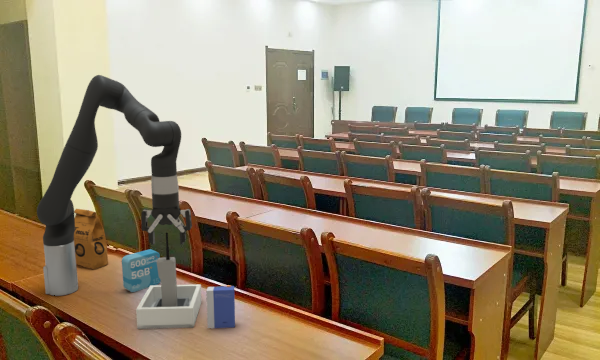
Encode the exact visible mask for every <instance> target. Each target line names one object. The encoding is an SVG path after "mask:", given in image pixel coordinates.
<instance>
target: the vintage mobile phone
mask: <svg viewBox="0 0 600 360" xmlns="http://www.w3.org/2000/svg"><path fill="white" fill-rule="evenodd" d="M165 246H166V247H165V251H166V253H165V254H166V257H165V256H163V257H160V258H158V260H157V268H158V275H159V278H160V280H161V281H160V285H161V291H162V305H161V307H178V303H177V285H178V284H177V263H176V257H175V256H170V247H169V233H168V232H165Z"/></svg>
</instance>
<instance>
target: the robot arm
mask: <svg viewBox="0 0 600 360" xmlns="http://www.w3.org/2000/svg"><path fill="white" fill-rule="evenodd" d="M100 107H102V108H106V109H109V110H114V111H116V112H120V113H122V114H124V115H123V116H124V119H125V120H126V122H127V124H129V125H130V126H131V127H133V128H134V129H135V130H137V132H138V133H139V134H140V136H141V138H142V140H143V142H144V144H146V145H148V146H149V147H152V148H160V147H163V148H162V150H161V152H160V153H157V154H155V155H153V156H152V157H151V159H150V167H151V182H150V183H151V184H150V186H151V188H150V189H151V203H152V205H151V206H152V209H151V210H150V209H149V210H148V209H146V208H144V209H143V210H142V211H141V217H140V218H141V223H140V224H141V229H140V230H141V231H142V232H144V231H145V232H146V233H148V243H149V244H150V245H151V246H154V245H155V244H156V233H155V232H156V231H155V229H156V227H157V226H158V225H160V226H164V225H168V226H172V225H174V226H175V228H177V229H178V230H179V231H180V232H179V240H180V241H179V242H180V243H179V244H180V245H184V243H185V242H186V240H187V233H186V232H187V231H190V230H191V229H192V227H193V223H192V213H191V212H192V211H191V209H190V208H186V209H181V208H180V196H179V192H180V191H179V189H180V188H179V187H180V186H179V179H178V171H177V161H178V160H177V159H178V154H179V150H180V146H181V142H182V130H181V127H180V126H179V123H177V122H176V121H174V120H165V121H164V120H163V121H162V120H161V121H160V118H159V116H158V114H156V113H155V112H154V111H153V110H151V109H149V108H148V107H147V106H146V105H144V104H143V103H141V102H140V101H138V99H136V97H135V96H134V95H133V94H132V93H131V91H130V90H129V89H128V88H127V87H126V86H125V85H124V84H123V83H122V82H119V81H118V80H114V79H112V78H110V77H106V76H104V75H102V74H101V75H100V74H98V75H94V76H93V77H92V78H91V80H90V81H89V83H88V85H87V88H86V89H85V93H84V96H83V99H82V103H81V105H80V109H79V112H78V114H77V118H76V120H75V122H74V124H73V127H72V129H71V132H70V134H69V136H68V139H67V140H66V143H65V145H64V147H63V150H62V152H61V155H60V158H59V160H58V162H57V165H56V168H55V171H54V174H53V176H52V179H51V181H50V184H49V185H48V187H47V189H46V191H45V192H44V194H43V195H42V198H41V199H40V201H39V203H38V205H37V207H36V215H37V218H38V220H39V221H40V223H41V224H43V225H45V230H44V233H43V235H42V241H43V244H42V245H43V253H44V261H45V262H44V263H45V265H44V266H43V267H42V269H43V270H42V271H43V278H44V279H43V280H44V289H45V295H51V296H54V295H55V296H56V297H58V296H65V295H66V296H67V295H69V294H73V293H76V292H77V291H78V289H79V281H78V280H79V279H78V269H77V264H76V256H75V245H74V232H75V213H74V211H75V208H74V207H75V206H74V204H73V200H72V199H71V198H72V196H73V194H74V192H75V190H76V188H77V187H78V185H79V183H80V182H81V181H82V180H83V177H84V176H85V175H86V173H87V172H88V170H89V168H90V166H91V165H92V162H93V160H94V158H95V156H96V153H97V151H98V147H99V144H98V136H97V131H96V130H97V129H96V123H95V121H96V117H97V113H98V110H99V108H100ZM150 215H151V216H152V217H153V219H154V221H153V222H152V224H151V225H150V226H149V225H148V221H149V219H148V218H150ZM181 215H182V217H183V218H185V225H184V223H183V221H182V220H181V218H179V217H180V216H181Z"/></svg>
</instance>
